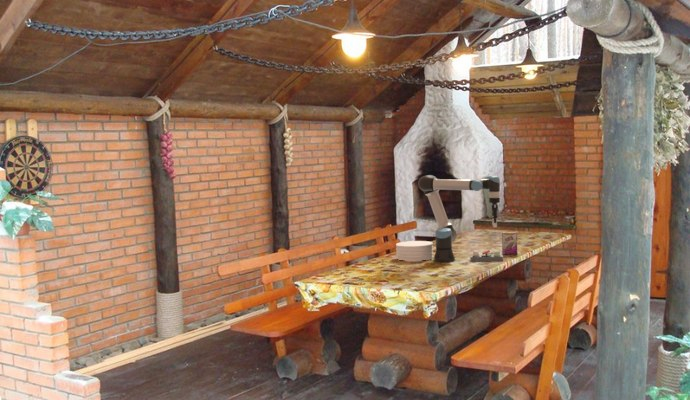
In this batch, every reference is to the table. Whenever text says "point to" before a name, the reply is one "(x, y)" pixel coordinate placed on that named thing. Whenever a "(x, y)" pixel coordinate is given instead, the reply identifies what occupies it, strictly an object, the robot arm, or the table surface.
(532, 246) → the table surface
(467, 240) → the table surface
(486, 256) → the panel
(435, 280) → the table surface
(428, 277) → the table surface
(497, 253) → the pale green cube
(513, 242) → the candy bar box
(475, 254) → the cream rounded ball
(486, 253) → the rocker
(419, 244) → the plate stack
